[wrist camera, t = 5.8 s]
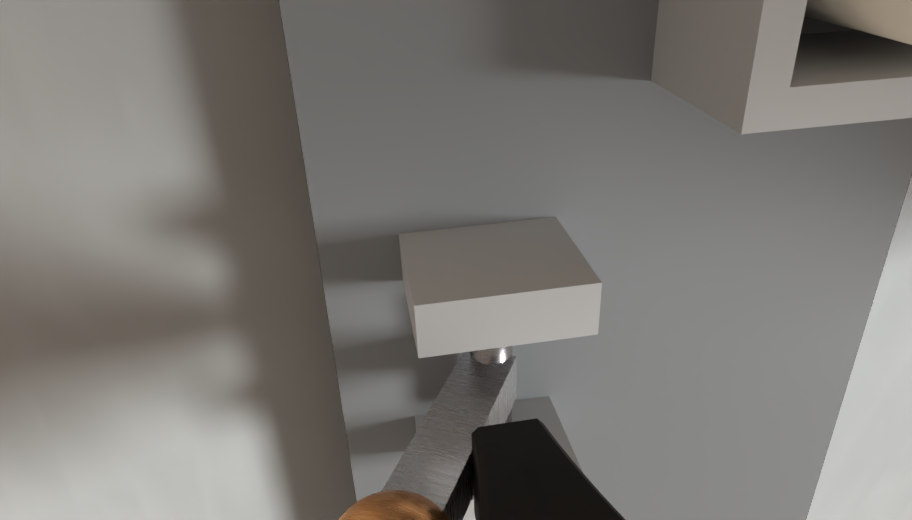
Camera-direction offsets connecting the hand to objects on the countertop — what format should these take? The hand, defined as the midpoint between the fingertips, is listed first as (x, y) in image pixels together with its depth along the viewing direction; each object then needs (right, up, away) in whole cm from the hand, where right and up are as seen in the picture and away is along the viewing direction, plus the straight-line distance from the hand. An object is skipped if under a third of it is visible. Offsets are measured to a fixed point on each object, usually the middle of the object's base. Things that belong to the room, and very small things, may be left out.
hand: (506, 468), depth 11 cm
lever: (0, +1, +2) cm, 2 cm away
